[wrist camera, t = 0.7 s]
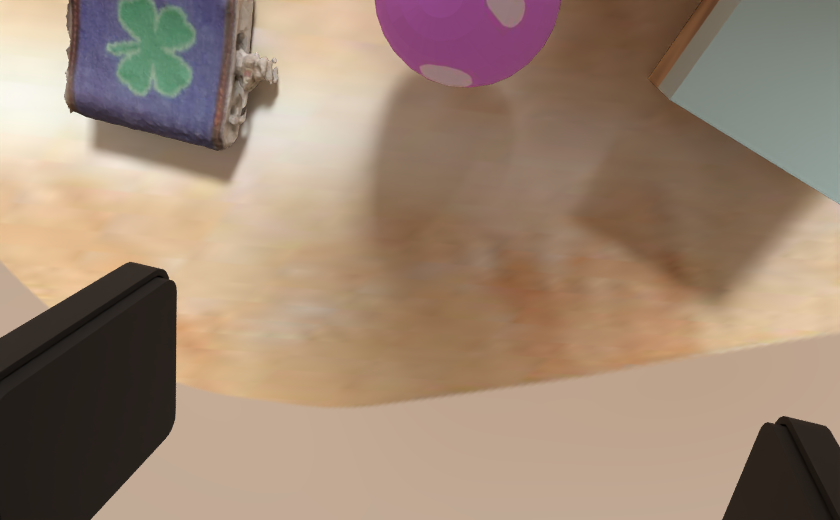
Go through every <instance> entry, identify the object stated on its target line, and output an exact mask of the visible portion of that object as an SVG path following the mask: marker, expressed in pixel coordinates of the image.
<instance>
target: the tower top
mask: <svg viewBox="0 0 840 520" xmlns="http://www.w3.org/2000/svg"><path fill="white" fill-rule="evenodd" d="M658 89H659V90H660V91H661V92H662V93H663V94H664V95H665V96H666V97H667V98H668V99H669V100H671V101H672V102H674V103H676V104H677V105H679V106H681V107H682V108H684V109H685V110H687V111H689V112H690V113H692V114H694V115H695V116H697V117H698V118H700V119H702V120H703V121H705V122H707V123H708V124H710V125H711V126H713V127H715V128H716V129H718V130H720V131H721V132H723V133H724V134H726V135H728V136H729V137H731V138H733V139H734V140H736V141H737V142H739V143H741V144H742V145H744V146H746V147H747V148H749V149H750V150H752V151H754V152H755V153H757V154H759V155H760V156H762V157H763V158H765V159H767V160H768V161H770V162H772V163H773V164H775V165H776V166H778V167H780V168H781V169H783V170H785V171H786V172H788V173H789V174H791V175H793V176H794V177H796V178H798V179H799V180H801V181H802V182H804V183H806V184H807V185H809V186H811V187H812V188H814V189H816V190H817V191H819V192H820V193H822V194H824V195H825V196H827V197H829V198H830V199H832V200H833V201H835V202H837V203H838V204H840V0H719V1H718V3H717V4H716V6H715V7H714V8H713V10H712V11H711V13H710V14H709V16H708V17H707V18H706V20H705V21H704V23H703V24H702V25H701V27H700V28H699V30H698V31H697V33H696V34H695V35H694V37H693V38H692V40H691V41H690V43H689V44H688V45H687V47H686V48H685V50H684V51H683V52H682V54H681V55H680V57H679V58H678V60H677V61H676V62H675V64H674V65H673V67H672V68H671V70H670V71H669V72H668V74H667V75H666V77H665V78H664V79H663V81H662V82H661V84H660V85H659V87H658Z"/></svg>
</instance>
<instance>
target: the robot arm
mask: <svg viewBox="0 0 840 520" xmlns="http://www.w3.org/2000/svg"><path fill="white" fill-rule="evenodd" d="M176 309H177V290H176V285H175V282H174V281H172V280H169V277H168V274H167V272H166V271H165V270H163V269H159V268H155V267H151V266H146V265H142V264H138V263H133V262H129V263H126V264H124V265H122V266H121V267H119V268H117V269H116V270H114V271H112V272H111V273H109V274H107V275H105V276H104V277H102V278H100V279H99V280H97V281H95V282H94V283H92V284H90V285H89V286H87V287H85V288H84V289H82V290H80V291H79V292H77V293H75V294H74V295H72V296H70V297H68V298H67V299H65V300H63V301H62V302H60V303H58V304H57V305H55V306H53V307H52V308H50V309H48V310H47V311H45V312H43V313H42V314H40V315H38V316H37V317H35V318H33V319H31V320H30V321H28V322H26V323H25V324H23V325H21V326H20V327H18V328H17V329H15V330H13V331H11V332H10V333H8V334H6V335H5V336H3V337H1V338H0V520H91V519H92V517H93V516H94V515H95V514H96V513H97V512H98V511H99V510H100V509H101V508H102V506H104V505H105V503H106V502H107V501H108V500H109V499H110V498H111V497H112V496H113V495H114V494H115V493H116V491H118V489H119V488H120V487H121V486H122V485H123V484H124V483H125V482H126V481H127V480H128V479H129V477H130V476H131V475H132V474H133V473H134V472H135V471H136V470H137V469H138V468H139V467H140V466H141V465H142V463H143V462H144V461H145V460H146V459H147V458H148V457H149V456H150V455H151V454H152V453H153V452H154V450H155V449H156V448H157V447H158V446H159V445H160V444H161V443H162V442H163V441H164V440H165V439H166V437H167V436H168V435H169V433H170V431H171V430H172V427H173V424H174V421H175V411H176ZM722 520H840V447H839V445H838V443H837V442H836V440H835V438H834V437H833V435H832V433H831V431H830V430H829V429H828V428H827V427H826V426H823V425H819V424H815V423H811V422H806V421H803V420H798V419H794V418H790V417H785V416H783V417H780V418H779V419H778V420H777V421H776V422H775V424H773V423H769V422H767V423H765V424H764V425H763V426H762V427H761V429H760V431H759V433H758V436H757V438H756V441H755V443H754V445H753V448H752V450H751V452H750V455H749V457H748V460H747V462H746V464H745V467H744V469H743V472H742V474H741V476H740V479H739V481H738V483H737V486H736V488H735V491H734V493H733V495H732V498H731V500H730V503H729V505H728V507H727V510H726V512H725V515H724V517H723V519H722Z"/></svg>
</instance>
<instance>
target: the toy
mask: <svg viewBox="0 0 840 520" xmlns="http://www.w3.org/2000/svg"><path fill="white" fill-rule="evenodd" d="M560 3H561V0H375V5H376V13H377V17H378V20H379V23H380V26H381V28H382V31H383V34H384V36H385V37H386V39H387V41H388V42H389V44H390V46H391V47H392V49H393V50H394V52H395V53H396V54H397V55H398V56H399V57H400V58H401V59H402V60H403V61H404V62H405V63H406V64H407V65H408V66H409V67H410V68H411V69H413V70H414V71H416V72H417V73H419V74H421V75H422V76H424V77H425V78H427V79H429V80H432V81H435V82H438V83H441V84H444V85H447V86H457V87H476V86H482V85H489V84H493V83H496V82H498V81H500V80H503V79H505V78H508V77H510V76H512V75H513V74H515V73H516V72H517V71H519V70H520V69H521V68H523V67H524V66H526V65H527V64H528V63H529V62H530V61H531V60H532V59H533V58H534V56H535V55H536V54H537V53H538V52H539V51H540V50H541V48H542V47H543V46H544V45H545V43H546V41H547V39H548V37H549V35H550V34H551V32H552V30H553V28H554V26H555V22H556V19H557V16H558V12H559V9H560Z"/></svg>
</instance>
